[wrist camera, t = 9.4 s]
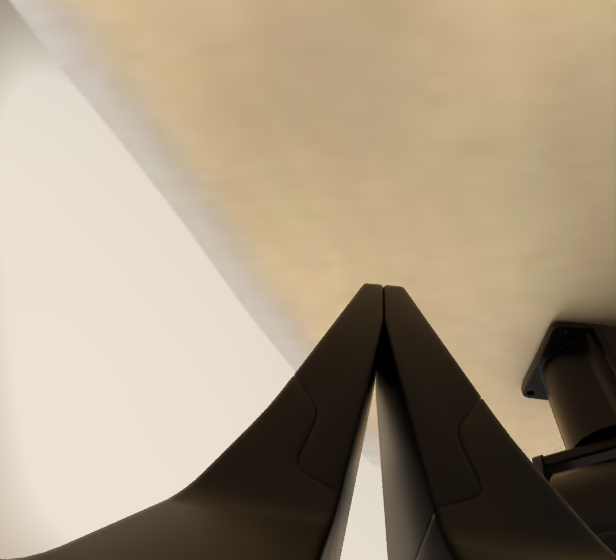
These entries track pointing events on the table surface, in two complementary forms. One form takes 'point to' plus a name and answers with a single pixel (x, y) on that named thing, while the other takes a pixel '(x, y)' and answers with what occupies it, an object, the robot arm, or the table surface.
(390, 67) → the table surface
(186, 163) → the table surface
